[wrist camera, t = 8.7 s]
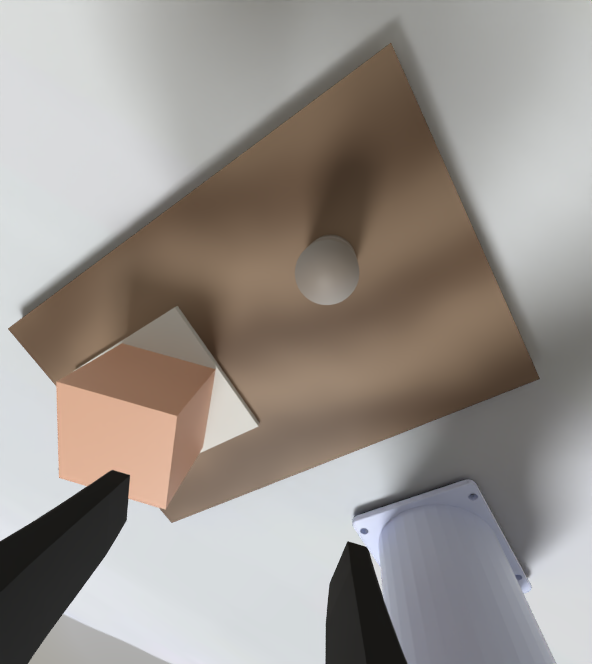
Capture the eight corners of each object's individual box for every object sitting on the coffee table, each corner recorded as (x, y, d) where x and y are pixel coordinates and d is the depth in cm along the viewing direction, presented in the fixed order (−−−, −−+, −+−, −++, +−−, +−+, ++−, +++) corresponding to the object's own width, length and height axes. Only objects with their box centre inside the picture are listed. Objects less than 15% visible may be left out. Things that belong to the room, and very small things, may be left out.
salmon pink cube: (202, 447, 20) (165, 509, 16) (118, 423, 20) (59, 477, 16) (215, 369, 18) (177, 416, 14) (121, 343, 18) (56, 381, 14)
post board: (529, 369, 17) (589, 420, 13) (178, 510, 24) (143, 574, 20) (387, 54, 14) (407, -16, 10) (23, 323, 20) (-61, 351, 16)
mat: (259, 423, 19) (258, 426, 19) (157, 470, 22) (155, 473, 21) (177, 305, 18) (174, 307, 17) (75, 369, 20) (72, 372, 20)
